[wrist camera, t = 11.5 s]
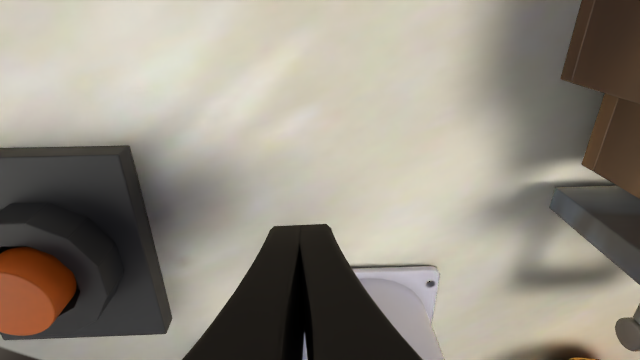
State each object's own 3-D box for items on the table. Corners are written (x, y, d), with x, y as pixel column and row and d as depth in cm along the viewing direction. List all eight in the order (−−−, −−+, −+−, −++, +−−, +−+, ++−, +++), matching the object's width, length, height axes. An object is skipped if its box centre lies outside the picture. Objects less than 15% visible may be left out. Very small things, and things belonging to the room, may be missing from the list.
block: (172, 318, 22) (154, 362, 19) (17, 324, 22) (-23, 369, 19) (130, 144, 17) (98, 171, 15) (-70, 149, 17) (-140, 177, 14)
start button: (86, 305, 18) (65, 334, 17) (10, 308, 18) (-18, 338, 16) (63, 244, 17) (38, 270, 15) (-20, 247, 16) (-54, 273, 15)
